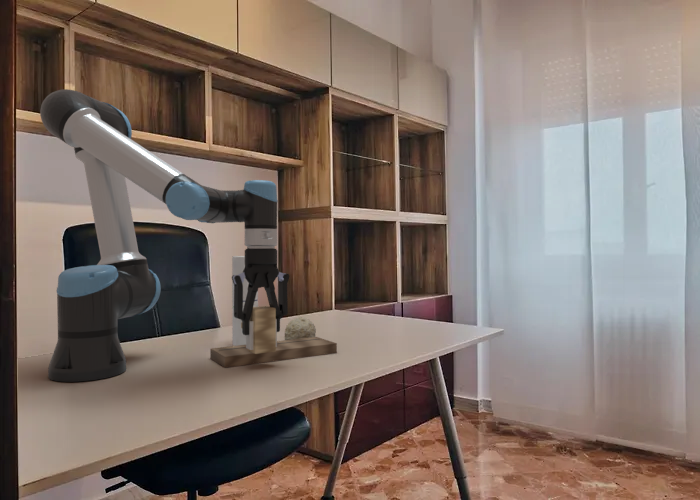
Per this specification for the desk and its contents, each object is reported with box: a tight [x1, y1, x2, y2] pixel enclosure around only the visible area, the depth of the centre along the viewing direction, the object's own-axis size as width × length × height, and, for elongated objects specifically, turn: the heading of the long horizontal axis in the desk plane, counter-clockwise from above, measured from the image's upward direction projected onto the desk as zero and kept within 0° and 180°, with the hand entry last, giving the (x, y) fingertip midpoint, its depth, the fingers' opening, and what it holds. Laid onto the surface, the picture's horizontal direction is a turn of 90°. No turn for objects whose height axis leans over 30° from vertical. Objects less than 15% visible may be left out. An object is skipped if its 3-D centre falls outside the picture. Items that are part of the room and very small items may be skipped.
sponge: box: [283, 316, 317, 340], centre depth 145 cm, size 9×10×10 cm
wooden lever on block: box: [241, 305, 276, 354], centre depth 121 cm, size 5×14×10 cm, turn 32°
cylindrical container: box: [231, 255, 259, 346], centre depth 143 cm, size 7×7×25 cm
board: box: [210, 336, 338, 369], centre depth 128 cm, size 30×11×3 cm, turn 123°
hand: (261, 347), depth 117 cm, fingers closed on wooden lever on block, 5 cm apart
